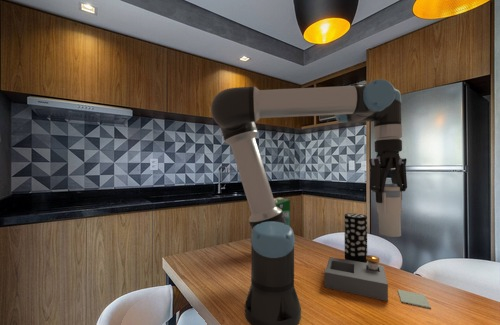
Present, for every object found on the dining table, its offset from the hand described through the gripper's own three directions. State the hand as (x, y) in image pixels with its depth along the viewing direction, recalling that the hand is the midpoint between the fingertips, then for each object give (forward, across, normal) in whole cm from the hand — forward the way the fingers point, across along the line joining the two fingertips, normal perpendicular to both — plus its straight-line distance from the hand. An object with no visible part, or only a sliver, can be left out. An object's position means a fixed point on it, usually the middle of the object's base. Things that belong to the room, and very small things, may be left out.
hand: (389, 212), depth 73 cm
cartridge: (+7, 0, 0) cm, 7 cm away
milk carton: (+25, +19, -42) cm, 52 cm away
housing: (+25, +6, -8) cm, 27 cm away
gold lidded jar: (+23, 0, -6) cm, 24 cm away
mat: (+25, -3, +5) cm, 26 cm away
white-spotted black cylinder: (+26, -5, -20) cm, 33 cm away
